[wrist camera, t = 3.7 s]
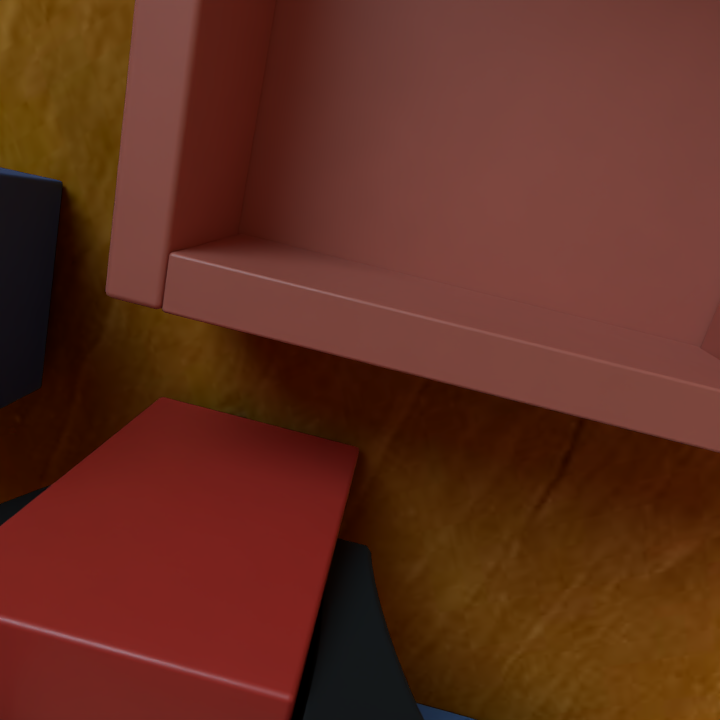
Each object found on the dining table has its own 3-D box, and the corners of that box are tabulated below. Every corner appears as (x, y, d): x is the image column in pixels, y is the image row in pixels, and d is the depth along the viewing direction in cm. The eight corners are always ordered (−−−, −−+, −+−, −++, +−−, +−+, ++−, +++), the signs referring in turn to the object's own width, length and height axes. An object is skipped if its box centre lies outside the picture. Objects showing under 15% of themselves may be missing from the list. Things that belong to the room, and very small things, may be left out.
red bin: (198, 263, 11) (101, 297, 8) (298, -414, 8) (212, -806, 5) (714, 391, 11) (839, 484, 8) (1000, -273, 8) (1404, -595, 5)
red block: (137, 565, 13) (-92, 866, 7) (161, 395, 12) (-91, 594, 6) (318, 614, 13) (230, 961, 7) (361, 446, 12) (295, 700, 6)
